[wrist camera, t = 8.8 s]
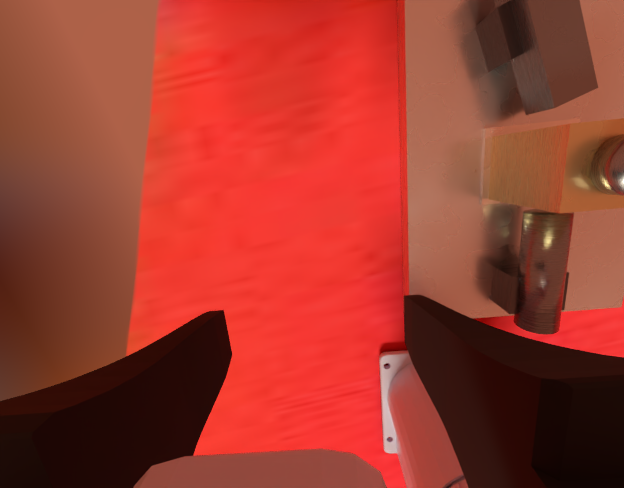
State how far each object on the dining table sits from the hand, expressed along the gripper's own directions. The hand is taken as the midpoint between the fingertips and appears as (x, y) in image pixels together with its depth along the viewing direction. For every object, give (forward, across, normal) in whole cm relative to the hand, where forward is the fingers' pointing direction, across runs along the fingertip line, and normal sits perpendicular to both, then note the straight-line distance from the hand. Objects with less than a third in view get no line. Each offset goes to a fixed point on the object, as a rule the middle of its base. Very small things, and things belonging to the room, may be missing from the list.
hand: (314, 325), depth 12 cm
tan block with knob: (+8, -13, -5) cm, 16 cm away
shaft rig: (+9, -13, -5) cm, 17 cm away
